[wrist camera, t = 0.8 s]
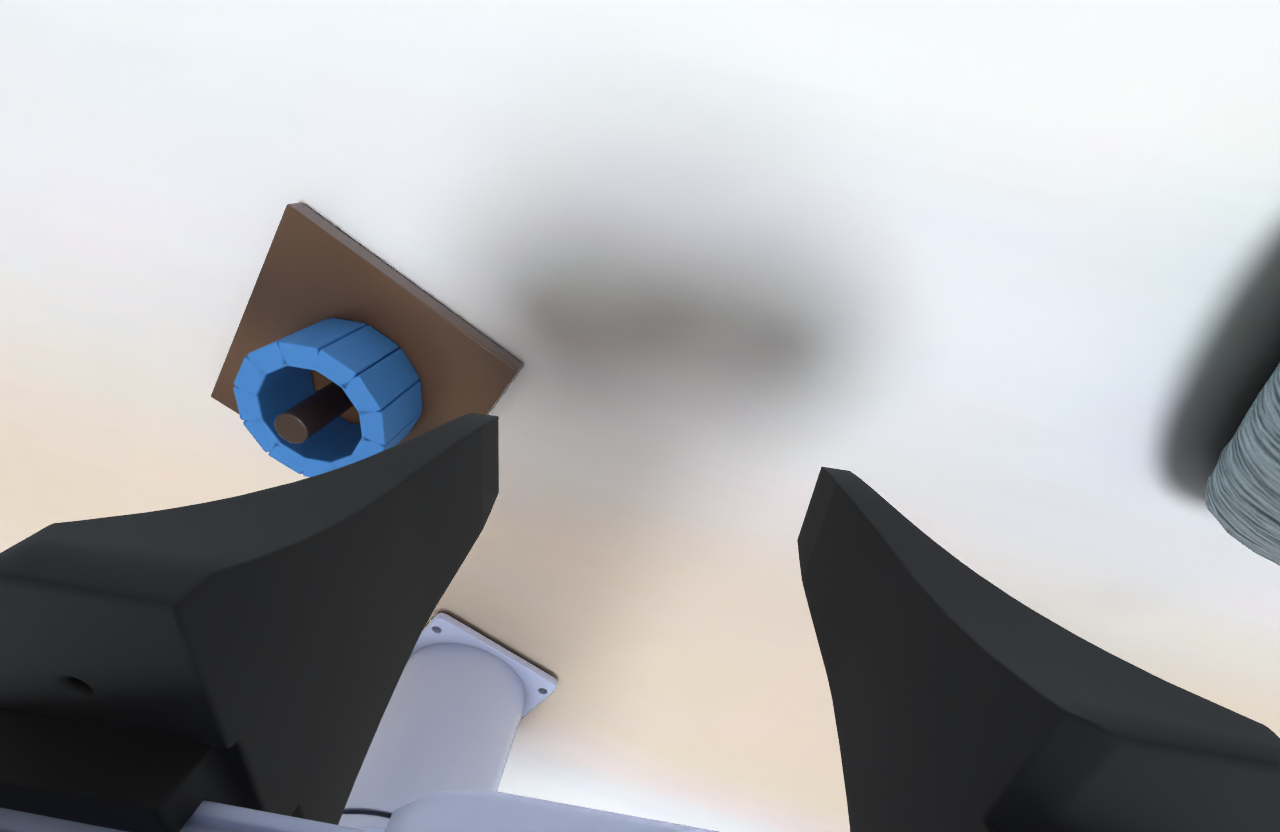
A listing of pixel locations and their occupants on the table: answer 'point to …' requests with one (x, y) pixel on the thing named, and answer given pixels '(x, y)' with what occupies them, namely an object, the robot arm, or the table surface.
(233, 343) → the brown square board
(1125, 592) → the table surface
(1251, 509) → the spool
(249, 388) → the tape
